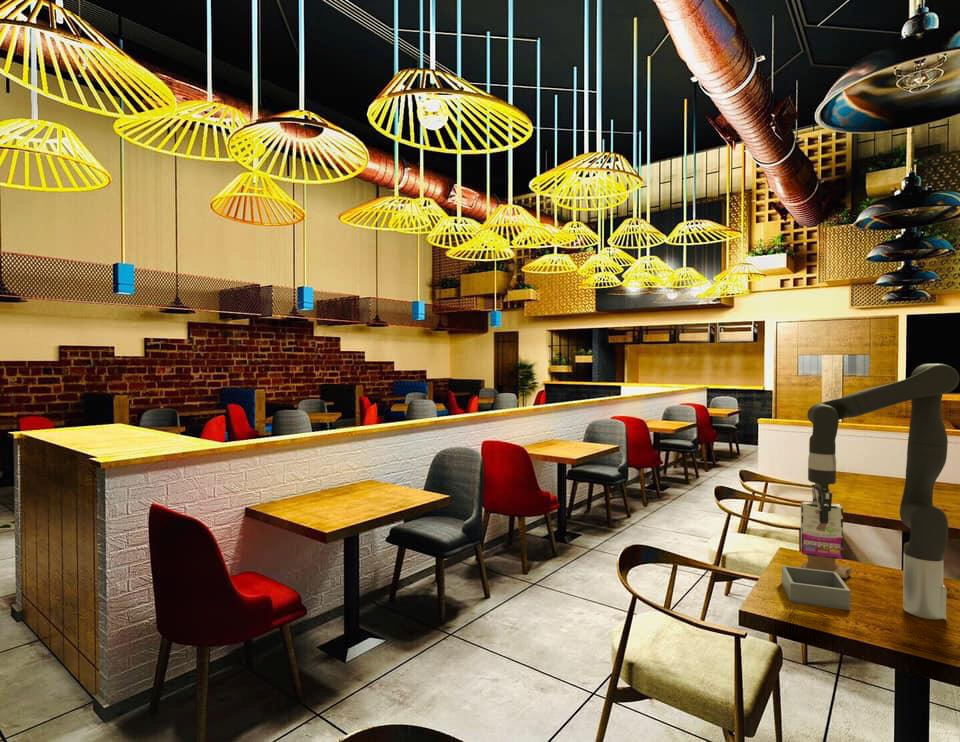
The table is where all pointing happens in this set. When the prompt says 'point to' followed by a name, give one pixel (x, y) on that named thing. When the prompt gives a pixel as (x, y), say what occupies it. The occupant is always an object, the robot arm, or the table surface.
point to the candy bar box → (821, 531)
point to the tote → (815, 587)
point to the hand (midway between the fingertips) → (821, 520)
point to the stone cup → (826, 565)
